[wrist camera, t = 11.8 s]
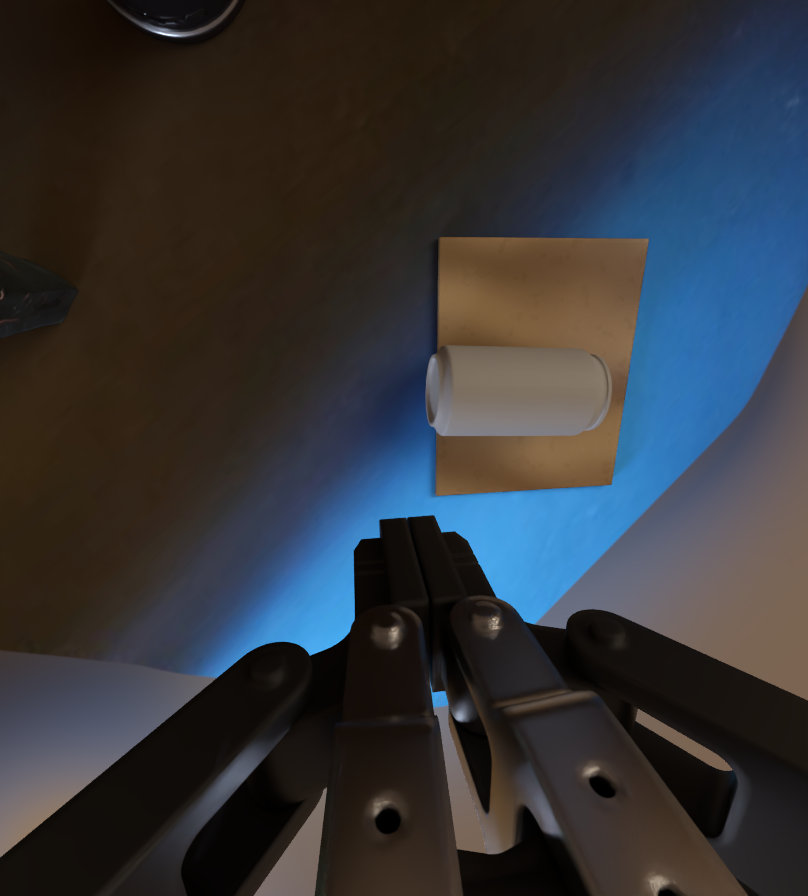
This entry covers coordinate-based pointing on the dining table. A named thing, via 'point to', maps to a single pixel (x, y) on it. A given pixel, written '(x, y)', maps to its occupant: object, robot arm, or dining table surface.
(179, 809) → the robot arm
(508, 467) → the cork mat
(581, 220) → the dining table surface
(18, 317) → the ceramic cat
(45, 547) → the dining table surface
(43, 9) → the dining table surface
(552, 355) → the beverage can
